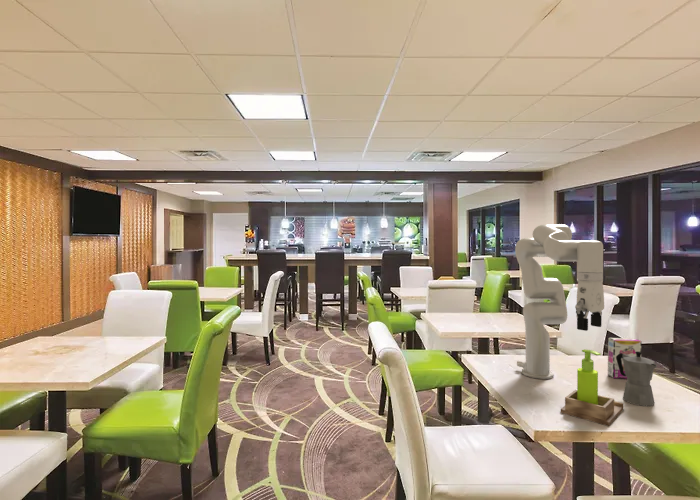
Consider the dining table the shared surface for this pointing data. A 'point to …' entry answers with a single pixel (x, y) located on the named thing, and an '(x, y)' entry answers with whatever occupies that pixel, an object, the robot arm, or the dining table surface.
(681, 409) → the dining table surface
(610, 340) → the candy bar box
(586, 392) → the soap dispenser
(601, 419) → the wooden tray
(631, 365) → the coffeepot
